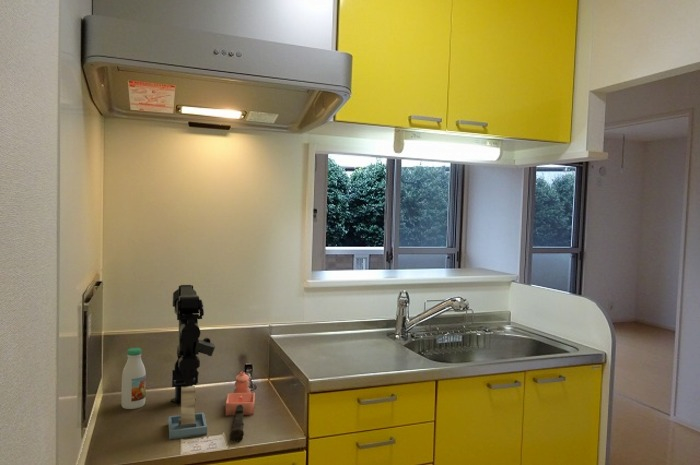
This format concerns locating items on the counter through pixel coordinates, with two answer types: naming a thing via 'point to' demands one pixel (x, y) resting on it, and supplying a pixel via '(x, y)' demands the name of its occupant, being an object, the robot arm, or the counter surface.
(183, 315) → the robot arm
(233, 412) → the pottery
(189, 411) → the beige pillar on base
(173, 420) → the tray
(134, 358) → the milk bottle
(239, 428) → the hand tool
